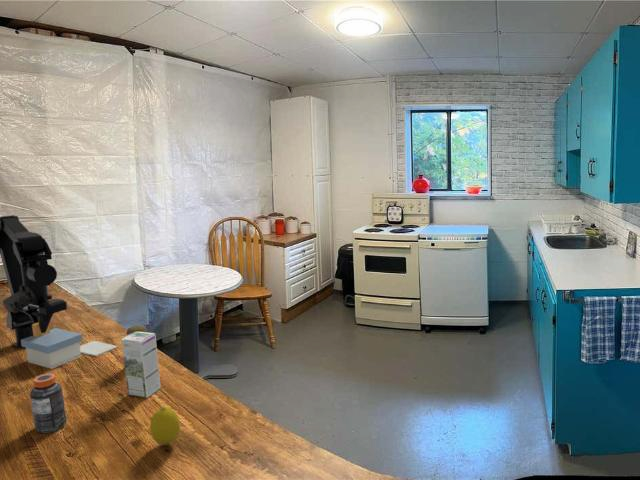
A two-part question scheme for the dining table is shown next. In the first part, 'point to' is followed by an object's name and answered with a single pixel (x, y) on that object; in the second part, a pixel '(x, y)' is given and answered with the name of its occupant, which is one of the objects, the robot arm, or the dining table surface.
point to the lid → (50, 339)
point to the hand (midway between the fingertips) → (41, 332)
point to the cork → (136, 329)
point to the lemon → (165, 425)
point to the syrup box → (141, 364)
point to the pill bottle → (47, 404)
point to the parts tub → (54, 356)
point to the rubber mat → (96, 348)
